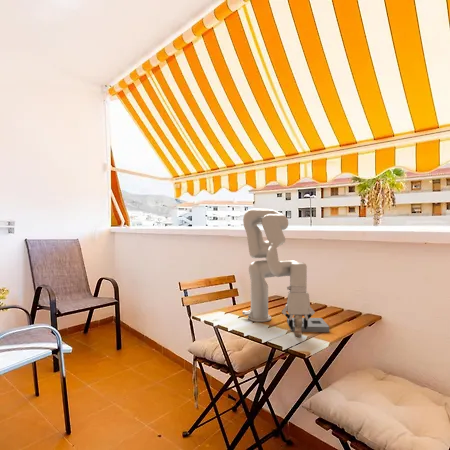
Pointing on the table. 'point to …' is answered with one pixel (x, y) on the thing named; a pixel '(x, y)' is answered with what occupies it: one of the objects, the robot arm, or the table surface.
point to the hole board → (312, 325)
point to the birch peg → (298, 325)
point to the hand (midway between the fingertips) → (298, 327)
